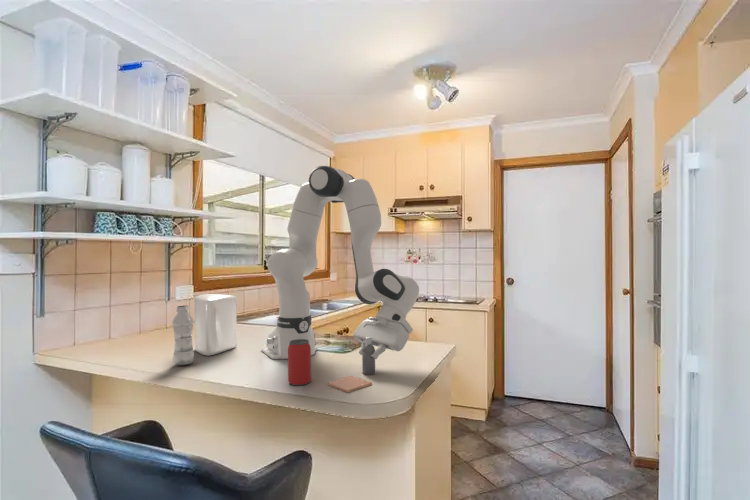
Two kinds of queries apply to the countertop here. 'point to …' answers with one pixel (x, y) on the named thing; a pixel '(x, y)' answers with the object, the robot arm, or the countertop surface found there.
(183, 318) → the plastic bottle
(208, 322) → the white rounded block
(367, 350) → the grey pump bottle
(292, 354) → the beer can
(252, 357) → the countertop surface
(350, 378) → the tile
